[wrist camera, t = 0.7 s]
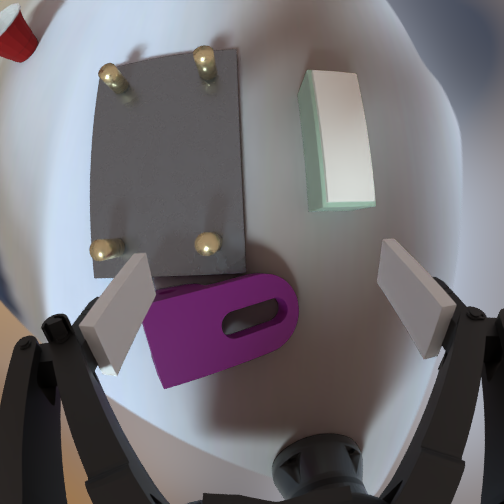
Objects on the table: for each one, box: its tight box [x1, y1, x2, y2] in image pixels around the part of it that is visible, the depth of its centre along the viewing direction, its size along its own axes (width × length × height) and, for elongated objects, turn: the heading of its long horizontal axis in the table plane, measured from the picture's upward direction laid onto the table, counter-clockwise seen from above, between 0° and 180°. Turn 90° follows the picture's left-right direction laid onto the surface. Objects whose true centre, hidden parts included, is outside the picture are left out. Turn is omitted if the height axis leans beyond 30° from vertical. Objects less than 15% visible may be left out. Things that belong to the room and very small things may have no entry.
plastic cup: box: [0, 3, 38, 63], centre depth 27 cm, size 11×11×12 cm
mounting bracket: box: [142, 273, 299, 389], centre depth 35 cm, size 9×8×18 cm
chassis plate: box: [90, 46, 246, 278], centre depth 32 cm, size 30×20×6 cm, turn 3°
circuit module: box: [298, 70, 376, 212], centre depth 32 cm, size 16×6×8 cm, turn 3°
